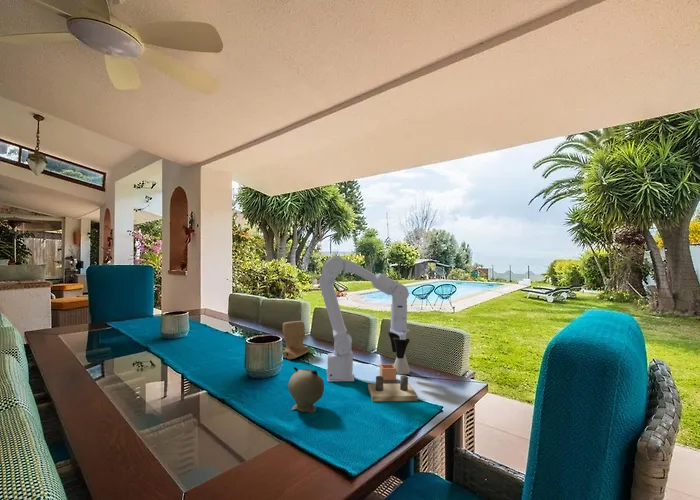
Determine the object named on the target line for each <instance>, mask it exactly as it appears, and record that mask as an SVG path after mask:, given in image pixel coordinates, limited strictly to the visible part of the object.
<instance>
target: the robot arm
mask: <svg viewBox="0 0 700 500" xmlns="http://www.w3.org/2000/svg"><path fill="white" fill-rule="evenodd" d="M342 271H343V273H345V274H347V273H352V274H355V275H357V276H358V277H360V278H362V279H365V280H367V281H369V282H371V284H372V287H373V288H374V289H375V290H376V289H377V291H378V290H379V291H380V292H382V293H384V294H386V295H388V296H390V295H391V304H390V328H389V331H388V332H387V334H388V336H389V340H390V343H391V344H390V345H391V350H392V353H396V357H397V358H404V354H405V355H406V350H407V347H408V345H409V343H410V341H411V339H410V338H407V333H411V331H410V328H407V321H408V304H407V303H408V298H409V295H410V293H409V290H408V288H407V286H405V285H404V284H402V283H401V282H399V281H398V280H397V279H396V280H395V279H392V278H390V277H389V276H388V275H387V274H386V273H380V272H379V273H373V272H371V271H370V270H368V269H366V268H364V267H363V266H361V265H360V264H358V263H356V262H355V261H354V262H353V261H351V260H349V259H345V258H343V257H341V256H337V255H336V256H335V255H334V256H331V257H329V258H328V259H327V260H326V262H325V263H324V265H323V267H322V271H321V275H320V277H319V281H318V283H319V287H320V291H321V294H322V297H323V301H324V305H325V308H326V312H327V315H328V319H329V322H330V325H331V328H332V335H333V340H334V343H333V349H334V350H332V351H333V352H329V353H328V352H327V364H326V365H327V366H326V371H325V372H326V373H325V374H326V378H327V382H355V376H354V373H353V370H354V368H353V365H354V363H353V361H354V360H353V359H354V352H353V350H352V347H353V346H352V345H353V344H352V343H353V337H352V335H351V334H350V333H349V332H348V329H347V326H346V324H345V321H344V318H343V314H342V311H341V308H340V304H339V300H338V297H337V294H336V291H335V287H334V283H335V280H336V279H337V277H338V275H340V274H341V272H342Z"/></svg>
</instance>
